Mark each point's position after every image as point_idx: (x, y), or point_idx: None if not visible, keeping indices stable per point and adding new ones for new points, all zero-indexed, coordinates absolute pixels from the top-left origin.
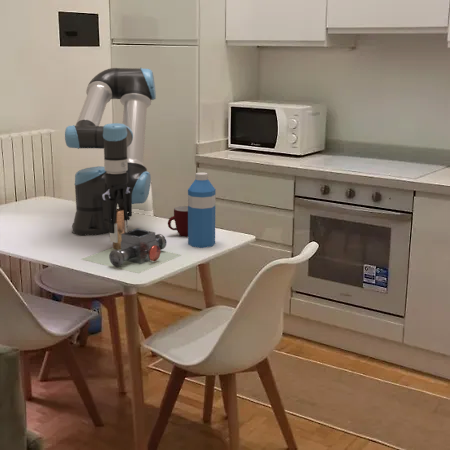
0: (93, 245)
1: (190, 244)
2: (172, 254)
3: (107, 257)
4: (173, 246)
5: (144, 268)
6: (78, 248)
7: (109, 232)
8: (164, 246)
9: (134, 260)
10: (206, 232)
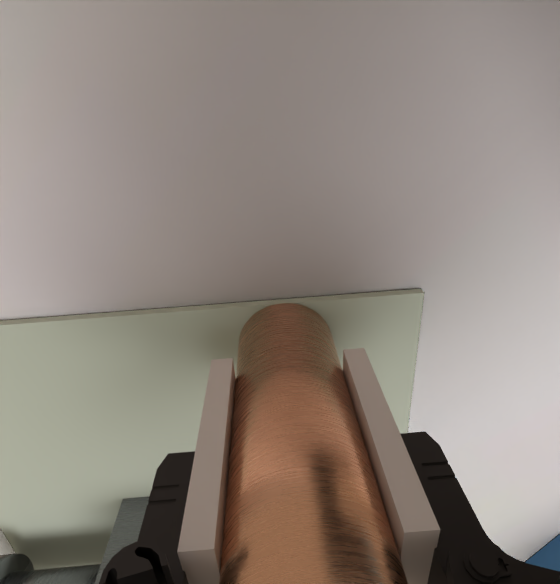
0: (215, 83)
1: (549, 560)
2: None
3: (79, 428)
4: (510, 504)
5: None
6: (29, 30)
7: (165, 460)
8: None
9: None
10: None
